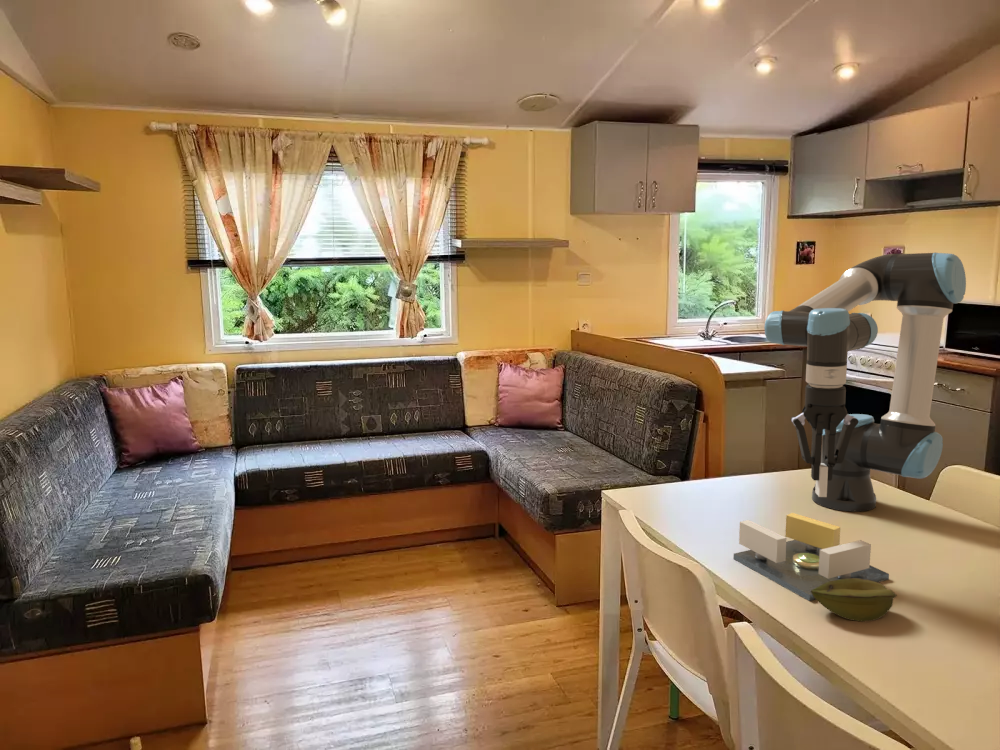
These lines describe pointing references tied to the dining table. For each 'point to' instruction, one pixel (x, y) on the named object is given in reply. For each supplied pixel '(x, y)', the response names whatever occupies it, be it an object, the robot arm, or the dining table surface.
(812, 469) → the robot arm
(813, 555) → the base
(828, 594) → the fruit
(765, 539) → the white crossbar plank
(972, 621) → the dining table surface
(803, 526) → the yellow lintel plank
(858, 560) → the white brick piece
